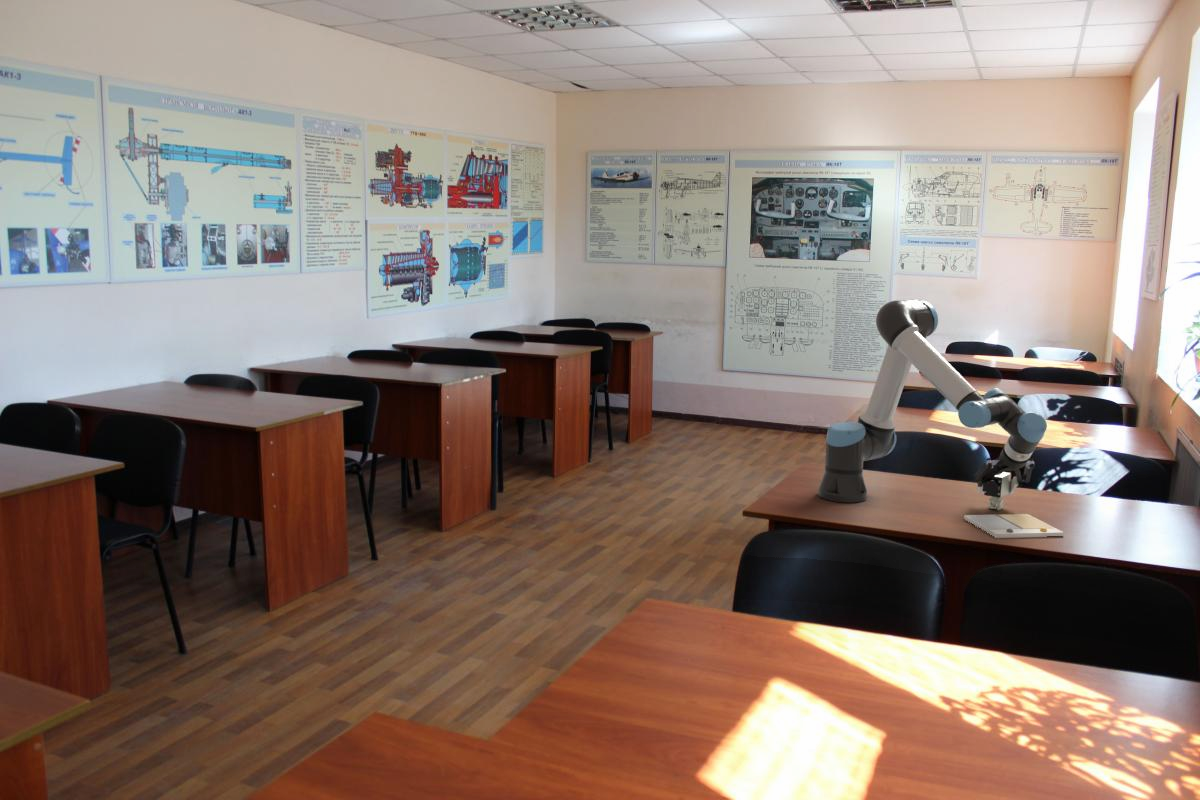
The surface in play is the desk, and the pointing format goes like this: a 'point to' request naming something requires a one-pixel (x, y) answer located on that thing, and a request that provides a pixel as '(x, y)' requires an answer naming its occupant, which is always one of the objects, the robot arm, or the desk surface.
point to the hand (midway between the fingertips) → (994, 490)
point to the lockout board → (1013, 526)
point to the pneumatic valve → (997, 489)
